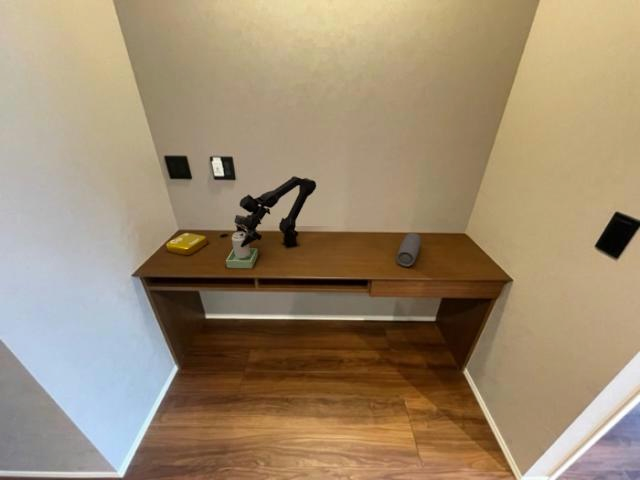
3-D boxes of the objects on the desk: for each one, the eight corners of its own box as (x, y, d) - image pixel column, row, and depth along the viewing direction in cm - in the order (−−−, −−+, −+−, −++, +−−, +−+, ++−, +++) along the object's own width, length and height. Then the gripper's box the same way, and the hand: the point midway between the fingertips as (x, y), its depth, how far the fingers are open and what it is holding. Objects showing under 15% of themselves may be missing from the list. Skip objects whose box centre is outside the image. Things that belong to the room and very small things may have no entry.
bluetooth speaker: (402, 245, 149) (405, 230, 144) (419, 249, 145) (423, 233, 140) (393, 265, 130) (397, 248, 126) (413, 270, 127) (417, 253, 122)
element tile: (189, 256, 136) (186, 248, 133) (166, 251, 140) (163, 243, 138) (208, 243, 148) (206, 235, 146) (187, 238, 152) (185, 231, 150)
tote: (257, 255, 138) (257, 248, 136) (252, 268, 127) (251, 261, 125) (234, 254, 138) (233, 248, 136) (227, 267, 127) (225, 260, 125)
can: (250, 258, 129) (247, 236, 123) (235, 260, 127) (231, 238, 121) (250, 250, 135) (246, 229, 129) (234, 252, 133) (231, 231, 127)
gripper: (235, 203, 128) (217, 229, 127) (252, 215, 115) (232, 244, 114) (252, 214, 136) (235, 239, 135) (270, 226, 123) (251, 254, 123)
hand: (238, 243), depth 127 cm, fingers closed on can, 7 cm apart
